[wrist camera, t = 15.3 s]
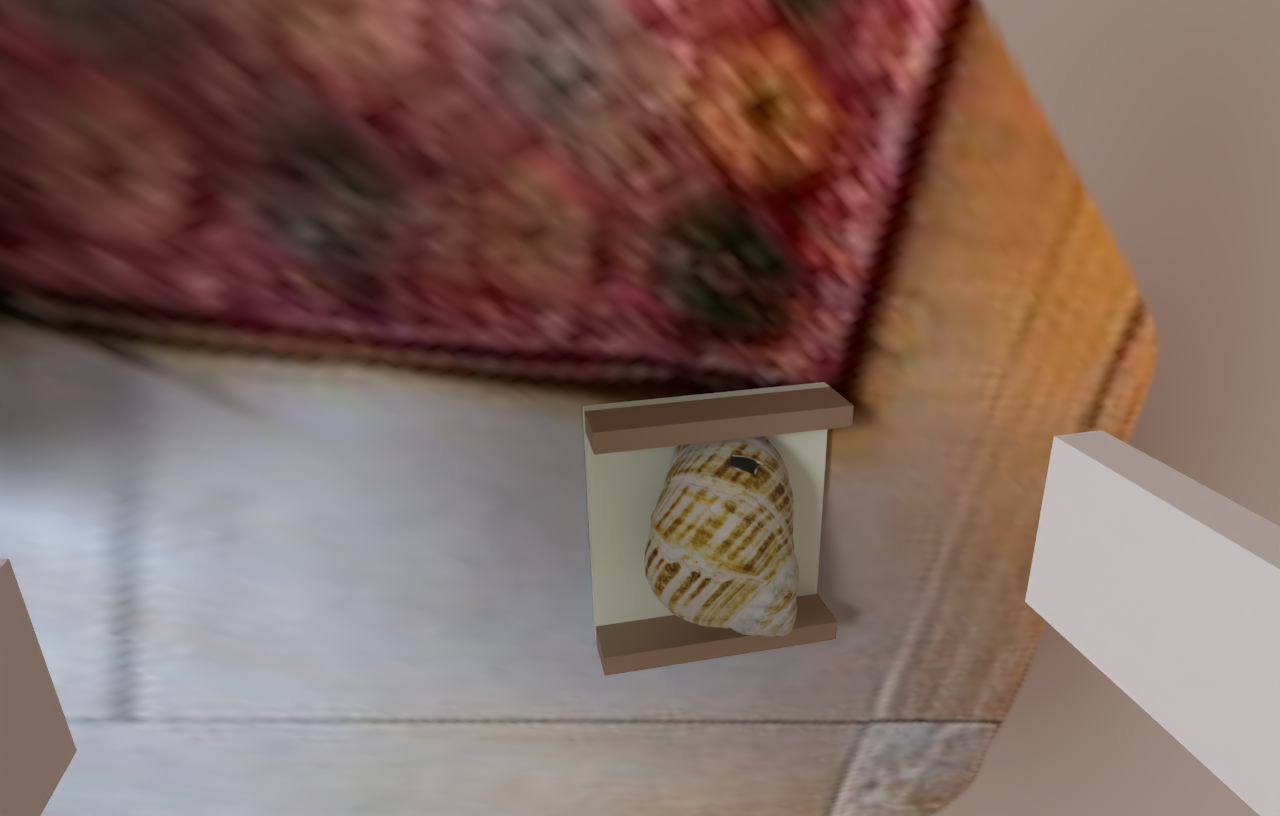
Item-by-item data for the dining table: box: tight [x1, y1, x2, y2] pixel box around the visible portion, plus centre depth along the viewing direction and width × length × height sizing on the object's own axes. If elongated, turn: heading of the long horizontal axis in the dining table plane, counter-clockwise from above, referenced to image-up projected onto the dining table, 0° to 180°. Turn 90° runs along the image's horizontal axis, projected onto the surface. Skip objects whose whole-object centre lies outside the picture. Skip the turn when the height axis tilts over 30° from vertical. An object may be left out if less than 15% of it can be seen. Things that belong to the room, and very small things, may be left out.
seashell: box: [644, 436, 799, 637], centre depth 45 cm, size 10×10×10 cm
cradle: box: [582, 382, 854, 675], centre depth 48 cm, size 14×15×4 cm
